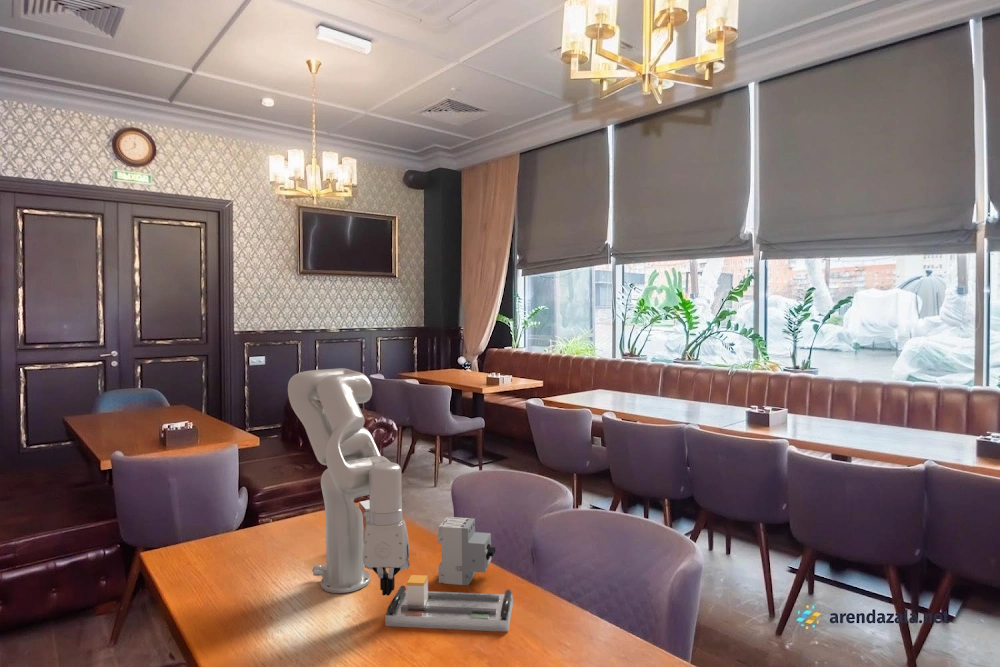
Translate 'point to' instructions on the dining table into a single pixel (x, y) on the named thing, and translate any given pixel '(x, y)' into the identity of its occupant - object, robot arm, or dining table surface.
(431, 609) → the panel
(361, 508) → the small box
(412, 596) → the toggle
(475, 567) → the circuit breaker
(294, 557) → the dining table surface
